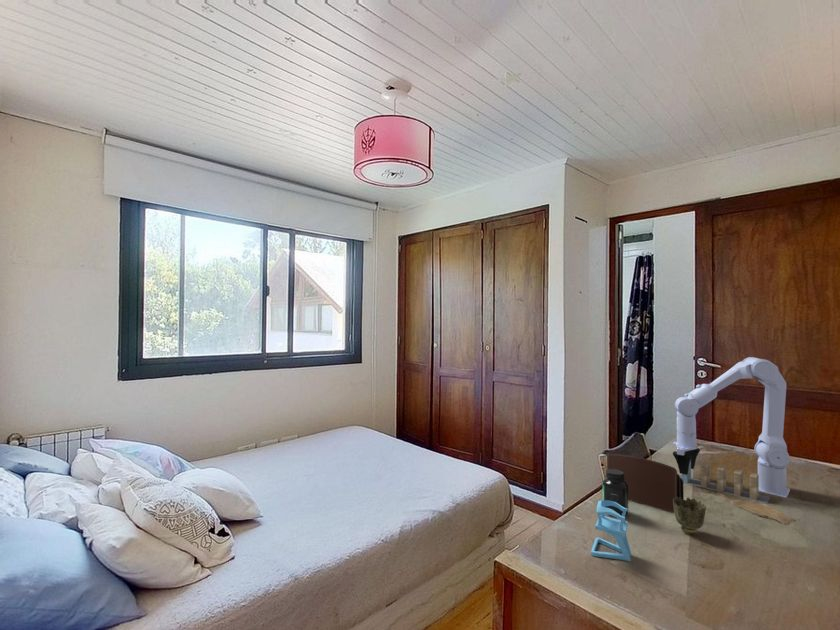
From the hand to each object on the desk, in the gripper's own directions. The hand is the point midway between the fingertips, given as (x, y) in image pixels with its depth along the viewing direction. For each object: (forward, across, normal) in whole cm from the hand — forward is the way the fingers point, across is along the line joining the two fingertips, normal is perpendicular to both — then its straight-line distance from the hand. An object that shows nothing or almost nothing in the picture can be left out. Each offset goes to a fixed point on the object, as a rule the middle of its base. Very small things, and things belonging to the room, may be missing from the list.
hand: (686, 471), depth 143 cm
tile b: (+3, 0, +10) cm, 10 cm away
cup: (+4, +39, +10) cm, 41 cm away
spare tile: (+3, 0, 0) cm, 3 cm away
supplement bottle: (+4, +42, -8) cm, 43 cm away
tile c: (+3, 0, +14) cm, 15 cm away
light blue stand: (+4, +64, 0) cm, 64 cm away
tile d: (+3, 0, +18) cm, 19 cm away
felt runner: (+4, 0, +9) cm, 10 cm away
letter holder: (+4, +26, -5) cm, 26 cm away
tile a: (+3, 0, +5) cm, 6 cm away
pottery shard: (+4, +11, +21) cm, 24 cm away
